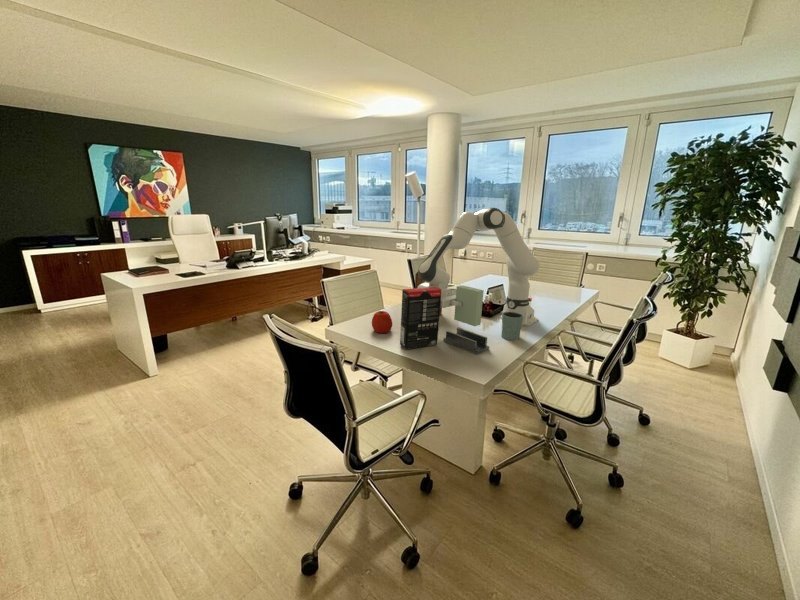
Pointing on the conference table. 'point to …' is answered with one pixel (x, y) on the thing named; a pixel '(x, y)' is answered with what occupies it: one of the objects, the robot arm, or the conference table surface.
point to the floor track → (467, 341)
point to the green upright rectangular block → (469, 305)
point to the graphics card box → (420, 317)
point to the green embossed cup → (511, 325)
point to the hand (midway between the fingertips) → (465, 303)
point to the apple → (382, 322)
